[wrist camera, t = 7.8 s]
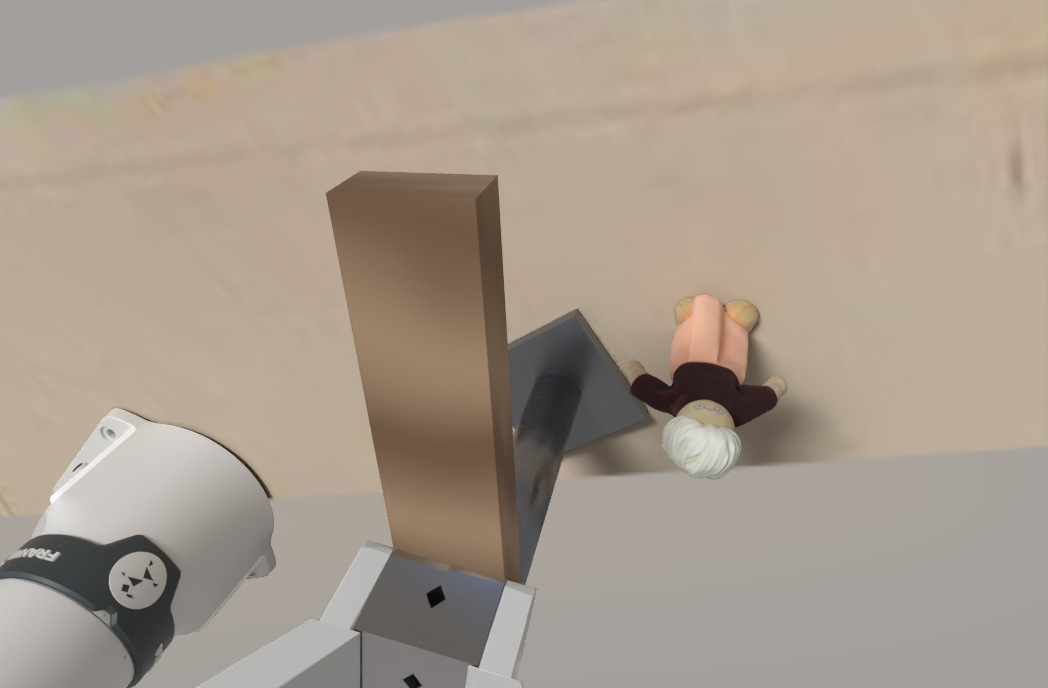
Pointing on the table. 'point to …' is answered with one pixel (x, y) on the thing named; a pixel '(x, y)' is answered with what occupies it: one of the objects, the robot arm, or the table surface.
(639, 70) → the table surface
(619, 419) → the arm post
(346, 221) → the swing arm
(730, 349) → the grandmother figurine
